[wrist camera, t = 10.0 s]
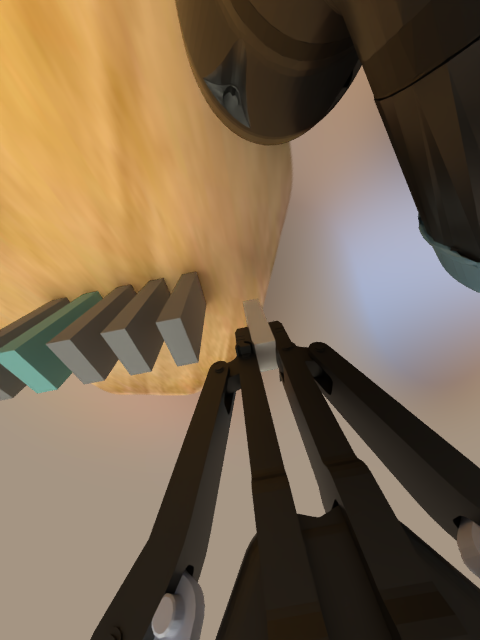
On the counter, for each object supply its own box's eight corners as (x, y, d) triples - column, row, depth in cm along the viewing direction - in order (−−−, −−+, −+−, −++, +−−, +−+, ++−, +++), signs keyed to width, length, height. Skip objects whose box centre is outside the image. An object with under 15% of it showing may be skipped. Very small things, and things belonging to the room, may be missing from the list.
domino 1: (131, 284, 25) (69, 339, 15) (147, 315, 28) (104, 380, 17) (116, 287, 25) (45, 344, 15) (134, 318, 28) (84, 384, 17)
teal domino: (97, 291, 25) (14, 350, 15) (117, 321, 28) (57, 389, 17) (83, 293, 25) (-11, 355, 15) (104, 324, 28) (37, 393, 17)
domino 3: (196, 271, 25) (180, 317, 15) (206, 304, 27) (198, 362, 17) (181, 274, 25) (155, 322, 15) (193, 306, 27) (177, 366, 17)
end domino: (66, 297, 25) (-39, 360, 15) (88, 327, 28) (12, 398, 18) (51, 300, 25) (-63, 365, 15) (75, 329, 28) (-8, 402, 18)
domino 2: (163, 278, 25) (124, 328, 15) (176, 310, 27) (151, 371, 17) (149, 281, 25) (100, 333, 15) (163, 312, 28) (130, 375, 17)
